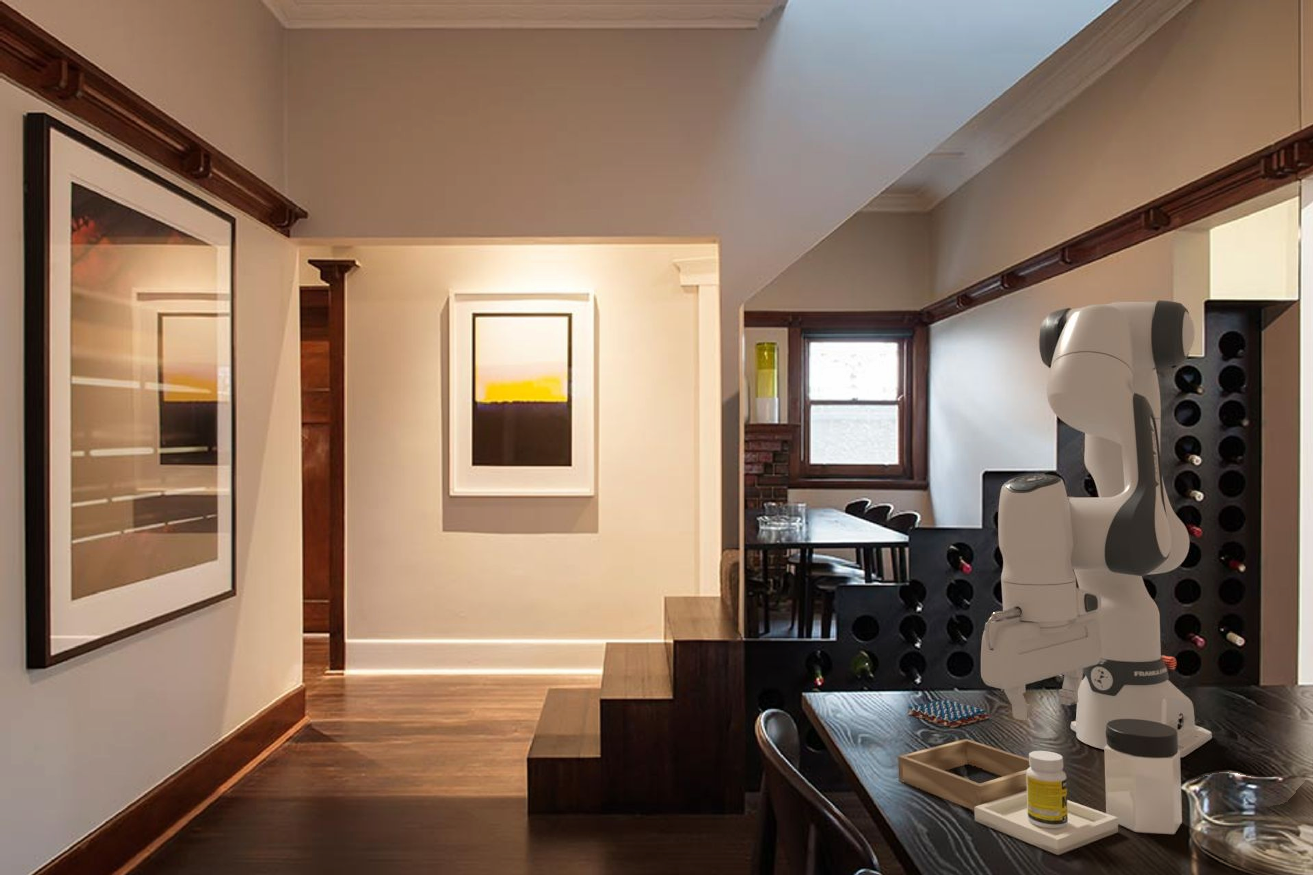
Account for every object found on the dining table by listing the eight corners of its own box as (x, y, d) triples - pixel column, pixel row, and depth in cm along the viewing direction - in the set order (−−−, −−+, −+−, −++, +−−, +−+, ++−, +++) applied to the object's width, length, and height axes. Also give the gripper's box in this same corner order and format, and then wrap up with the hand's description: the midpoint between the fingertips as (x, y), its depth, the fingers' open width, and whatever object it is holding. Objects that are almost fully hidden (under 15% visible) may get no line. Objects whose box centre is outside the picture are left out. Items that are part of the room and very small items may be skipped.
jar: (1117, 803, 122) (1115, 713, 122) (1186, 818, 116) (1183, 724, 117) (1099, 824, 115) (1097, 729, 115) (1172, 841, 109) (1169, 742, 110)
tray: (1034, 801, 123) (1033, 787, 123) (1118, 831, 112) (1117, 817, 112) (974, 820, 116) (974, 806, 117) (1057, 854, 106) (1057, 839, 106)
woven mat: (953, 731, 156) (952, 719, 156) (905, 717, 165) (905, 706, 165) (991, 721, 161) (991, 709, 162) (943, 708, 170) (943, 697, 170)
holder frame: (966, 761, 139) (966, 738, 139) (1050, 790, 126) (1050, 765, 126) (898, 780, 131) (898, 756, 132) (981, 813, 119) (980, 786, 119)
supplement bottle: (1070, 831, 111) (1069, 762, 112) (1029, 827, 113) (1028, 760, 113) (1064, 816, 116) (1062, 750, 116) (1025, 812, 117) (1023, 747, 117)
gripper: (1007, 617, 107) (1014, 733, 107) (1109, 595, 118) (1115, 700, 117) (964, 610, 112) (971, 721, 112) (1065, 590, 123) (1071, 691, 123)
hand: (1046, 710), depth 115 cm, fingers open, 8 cm apart
